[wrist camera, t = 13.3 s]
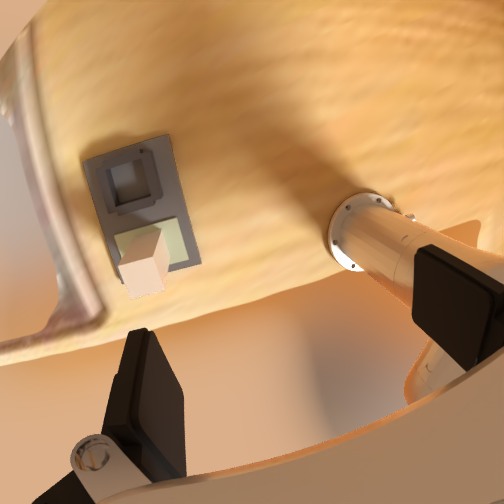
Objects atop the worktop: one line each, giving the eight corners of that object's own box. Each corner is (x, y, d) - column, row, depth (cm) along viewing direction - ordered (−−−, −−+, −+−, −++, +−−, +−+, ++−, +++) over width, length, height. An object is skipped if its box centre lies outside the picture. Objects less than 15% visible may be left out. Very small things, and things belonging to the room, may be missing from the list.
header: (168, 134, 37) (166, 133, 34) (201, 260, 44) (202, 270, 40) (84, 161, 36) (75, 163, 32) (123, 281, 42) (118, 292, 39)
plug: (161, 229, 40) (152, 256, 30) (170, 257, 41) (164, 290, 32) (133, 237, 39) (117, 266, 30) (143, 264, 41) (130, 299, 31)
